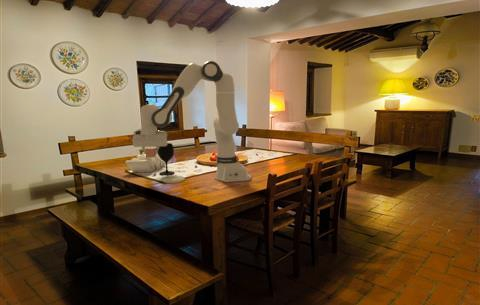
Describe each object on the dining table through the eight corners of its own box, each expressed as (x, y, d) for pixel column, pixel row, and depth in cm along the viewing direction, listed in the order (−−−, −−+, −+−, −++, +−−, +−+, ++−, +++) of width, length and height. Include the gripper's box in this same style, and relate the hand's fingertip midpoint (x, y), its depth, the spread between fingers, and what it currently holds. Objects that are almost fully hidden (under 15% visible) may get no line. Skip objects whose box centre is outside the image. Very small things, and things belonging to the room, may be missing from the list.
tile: (186, 176, 199) (186, 175, 199) (182, 182, 185) (182, 181, 185) (164, 177, 199) (164, 175, 198) (159, 183, 185) (159, 181, 185)
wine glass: (159, 176, 201) (157, 145, 198) (158, 172, 211) (157, 143, 207) (175, 174, 204) (174, 145, 200) (174, 171, 214) (173, 142, 210)
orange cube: (156, 155, 191) (155, 147, 190) (154, 157, 186) (153, 149, 186) (148, 155, 191) (147, 147, 190) (145, 157, 186) (145, 149, 185)
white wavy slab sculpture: (144, 175, 204) (143, 159, 202) (123, 173, 208) (122, 158, 206) (170, 163, 237) (170, 150, 235) (151, 162, 241) (151, 149, 239)
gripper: (167, 130, 189) (169, 152, 192) (134, 130, 189) (135, 153, 191) (165, 131, 183) (167, 154, 186) (130, 132, 183) (132, 155, 185)
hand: (150, 153), depth 189 cm, fingers closed on orange cube, 5 cm apart
